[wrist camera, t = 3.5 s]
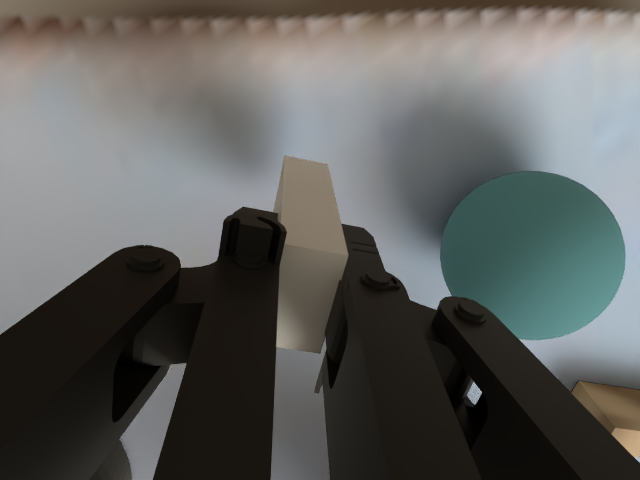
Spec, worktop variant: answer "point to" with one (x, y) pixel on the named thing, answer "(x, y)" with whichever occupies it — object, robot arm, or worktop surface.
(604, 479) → the robot arm
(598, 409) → the lane
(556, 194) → the ball
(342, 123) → the worktop surface
